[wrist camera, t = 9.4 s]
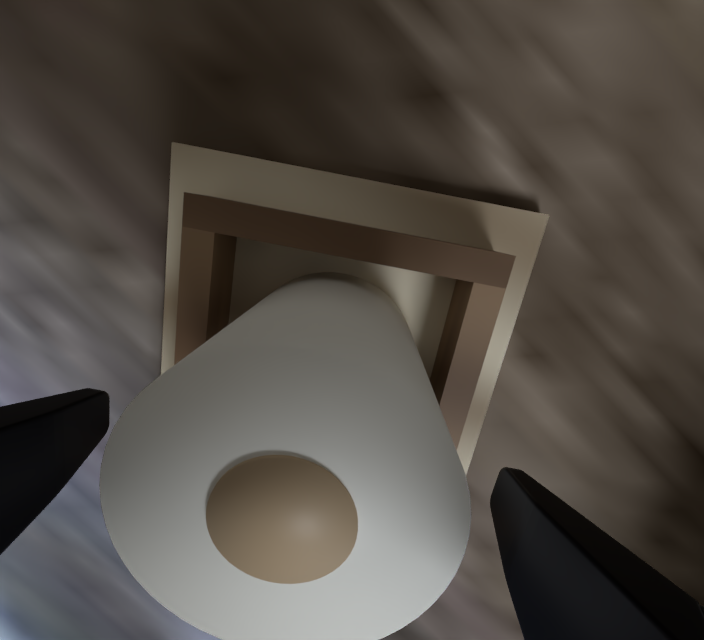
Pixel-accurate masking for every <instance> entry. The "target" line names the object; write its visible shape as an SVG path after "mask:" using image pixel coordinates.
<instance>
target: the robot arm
mask: <svg viewBox="0 0 704 640" xmlns="http://www.w3.org/2000/svg"><path fill="white" fill-rule="evenodd" d="M108 427H109V395H108V393H107V392H105V391H101V390H96V389H91V388H86V389H81V390H76V391H72V392H67V393H62V394H58V395H53V396H49V397H44V398H39V399H35V400H30V401H25V402H21V403H16V404H11V405H7V406H2V407H0V555H1V554H2V553H3V552H4V551H5V550H6V549H7V547H8V546H9V545H10V544H11V543H12V542H13V541H14V540H15V539H16V538H17V537H18V536H19V535H20V534H21V533H22V532H23V531H24V530H25V529H26V527H27V526H28V525H29V524H30V523H31V522H32V521H33V520H34V519H35V518H36V517H37V516H38V515H39V514H40V513H41V512H42V511H43V510H44V509H45V507H46V506H47V505H48V504H49V503H50V502H51V501H52V500H53V499H54V498H55V497H56V495H57V494H58V493H59V492H60V491H61V490H62V488H63V487H64V486H65V485H66V484H67V482H68V481H69V480H70V479H71V477H72V476H73V475H74V473H75V472H76V471H77V470H78V468H79V467H80V466H81V465H82V463H83V462H84V461H85V460H86V458H87V457H88V456H89V455H90V453H91V452H92V451H93V450H94V448H95V447H96V446H97V445H98V443H99V442H100V441H101V439H102V438H103V437H104V436H105V434H106V432H107V430H108ZM490 507H491V512H492V517H493V522H494V527H495V532H496V536H497V541H498V546H499V551H500V555H501V560H502V565H503V569H504V573H505V578H506V581H507V585H508V588H509V592H510V595H511V598H512V601H513V604H514V608H515V611H516V614H517V617H518V620H519V624H520V627H521V630H522V633H523V636H524V640H704V606H700V605H699V603H698V602H697V601H696V600H695V599H694V598H692V597H691V596H690V595H688V594H687V593H686V592H684V591H683V590H682V589H680V588H679V587H678V586H676V585H675V584H674V583H672V582H671V581H670V580H668V579H667V578H666V577H664V576H663V575H662V574H660V573H659V572H658V571H656V570H655V569H654V568H652V567H651V566H649V565H648V564H647V563H645V562H644V561H643V560H641V559H640V558H639V557H637V556H636V555H635V554H633V553H632V552H631V551H629V550H628V549H627V548H625V547H624V546H623V545H621V544H620V543H619V542H617V541H616V540H615V539H613V538H612V537H611V536H609V535H608V534H607V533H605V532H604V531H603V530H601V529H600V528H599V527H597V526H596V525H595V524H593V523H592V522H591V521H589V520H588V519H587V518H585V517H584V516H583V515H581V514H580V513H578V512H577V511H576V510H574V509H573V508H572V507H570V506H569V505H568V504H566V503H565V502H564V501H562V500H561V499H560V498H558V497H557V496H556V495H554V494H553V493H552V492H550V491H549V490H548V489H546V488H545V487H544V486H542V485H541V484H540V483H538V482H537V481H536V480H534V479H533V478H532V477H530V476H529V475H528V474H526V473H525V472H524V471H522V470H519V469H513V468H508V467H504V468H502V469H501V470H500V472H499V475H498V478H497V480H496V483H495V486H494V489H493V492H492V495H491V499H490Z"/></svg>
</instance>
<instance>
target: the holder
mask: <svg viewBox="0 0 704 640" xmlns="http://www.w3.org/2000/svg"><path fill="white" fill-rule="evenodd" d="M548 218H549V215H547V214H542V213H537V212H532V211H526V210H521V209H516V208H511V207H506V206H501V205H495V204H490V203H485V202H480V201H475V200H470V199H465V198H459V197H454V196H449V195H444V194H439V193H434V192H428V191H423V190H418V189H413V188H408V187H403V186H397V185H392V184H387V183H382V182H377V181H372V180H366V179H361V178H356V177H351V176H346V175H341V174H336V173H330V172H325V171H320V170H315V169H310V168H305V167H299V166H294V165H289V164H284V163H279V162H274V161H268V160H263V159H258V158H253V157H248V156H243V155H238V154H232V153H227V152H222V151H217V150H212V149H207V148H201V147H196V146H191V145H186V144H181V143H176V142H172V146H171V168H170V190H169V211H168V233H167V255H166V276H165V298H164V320H163V341H162V363H161V375H162V374H163V373H165V372H166V371H167V370H169V369H170V368H171V367H173V366H174V365H175V364H177V363H178V362H179V361H181V360H182V359H183V358H185V357H186V356H187V355H189V354H190V353H191V352H193V351H194V350H195V349H197V348H198V347H199V346H201V345H202V344H204V343H205V342H206V341H208V340H209V339H210V338H212V337H213V336H214V335H216V334H217V333H218V332H220V331H221V330H222V329H224V328H225V327H226V326H228V325H229V324H230V323H232V322H233V321H234V320H236V319H237V318H239V317H240V316H241V315H243V314H244V313H245V312H247V311H248V310H249V309H251V308H252V307H253V306H255V305H256V304H257V303H259V302H260V301H261V300H263V299H264V298H265V297H267V296H268V295H269V294H271V293H272V292H273V291H275V290H276V289H278V288H279V287H280V286H282V285H284V284H285V283H287V282H289V281H291V280H293V279H295V278H298V277H300V276H304V275H307V274H312V273H319V272H337V273H345V274H349V275H352V276H356V277H359V278H361V279H364V280H366V281H368V282H370V283H371V284H373V285H375V286H377V287H378V288H379V289H381V290H382V291H383V292H385V293H386V294H387V295H388V296H389V297H390V298H391V299H392V300H393V301H394V302H395V304H396V305H397V306H398V308H399V309H400V310H401V312H402V314H403V315H404V317H405V319H406V321H407V324H408V326H409V329H410V331H411V334H412V336H413V339H414V342H415V344H416V347H417V349H418V352H419V355H420V357H421V360H422V362H423V365H424V368H425V370H426V373H427V375H428V378H429V381H430V383H431V386H432V388H433V391H434V394H435V396H436V399H437V401H438V404H439V407H440V409H441V412H442V414H443V417H444V419H445V422H446V425H447V427H448V430H449V432H450V435H451V438H452V440H453V443H454V445H455V448H456V451H457V453H458V456H459V458H460V461H461V464H462V466H463V469H464V471H465V475H466V474H467V471H468V468H469V465H470V462H471V459H472V455H473V452H474V449H475V446H476V443H477V440H478V437H479V434H480V430H481V427H482V424H483V421H484V418H485V415H486V412H487V409H488V405H489V402H490V399H491V396H492V393H493V390H494V387H495V384H496V381H497V377H498V374H499V371H500V368H501V365H502V362H503V359H504V356H505V352H506V349H507V346H508V343H509V340H510V337H511V334H512V331H513V328H514V324H515V321H516V318H517V315H518V312H519V309H520V306H521V303H522V299H523V296H524V293H525V290H526V287H527V284H528V281H529V278H530V275H531V271H532V268H533V265H534V262H535V259H536V256H537V253H538V250H539V246H540V243H541V240H542V237H543V234H544V231H545V228H546V225H547V221H548Z"/></svg>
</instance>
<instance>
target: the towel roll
mask: <svg viewBox="0 0 704 640" xmlns="http://www.w3.org/2000/svg"><path fill="white" fill-rule="evenodd" d="M99 486H100V499H101V508H102V512H103V516H104V520H105V525H106V527H107V530H108V533H109V535H110V538H111V540H112V543H113V545H114V547H115V549H116V551H117V552H118V554H119V556H120V558H121V560H122V561H123V563H124V564H125V566H126V567H127V568H128V570H129V571H130V573H131V574H132V575H133V577H134V578H135V579H136V580H137V581H138V583H139V584H140V585H141V586H142V587H143V588H144V589H145V590H146V591H147V592H148V593H149V594H150V595H151V596H152V597H153V598H154V599H155V600H157V601H158V602H159V603H160V604H161V605H162V606H163V607H165V608H166V609H167V610H169V611H170V612H172V613H173V614H174V615H176V616H177V617H179V618H180V619H182V620H183V621H185V622H187V623H189V624H190V625H192V626H194V627H196V628H197V629H199V630H201V631H203V632H206V633H208V634H210V635H212V636H215V637H217V638H219V639H222V640H379V639H381V638H384V637H386V636H388V635H390V634H392V633H394V632H396V631H397V630H399V629H401V628H403V627H404V626H406V625H407V624H409V623H410V622H412V621H413V620H415V619H416V618H418V617H419V616H420V615H421V614H422V613H424V612H425V611H426V610H427V609H428V608H429V607H430V606H431V605H433V604H434V602H435V601H436V600H437V599H438V598H439V597H440V595H441V594H442V593H443V592H444V591H445V590H446V588H447V587H448V585H449V584H450V582H451V580H452V579H453V577H454V576H455V574H456V572H457V570H458V568H459V566H460V563H461V561H462V559H463V556H464V554H465V550H466V546H467V543H468V539H469V534H470V524H471V502H470V492H469V488H468V483H467V479H466V475H465V471H464V469H463V466H462V464H461V461H460V458H459V456H458V453H457V451H456V448H455V445H454V443H453V440H452V438H451V435H450V432H449V430H448V427H447V425H446V422H445V419H444V417H443V414H442V412H441V409H440V407H439V404H438V401H437V399H436V396H435V394H434V391H433V388H432V386H431V383H430V381H429V378H428V375H427V373H426V370H425V368H424V365H423V362H422V360H421V357H420V355H419V352H418V349H417V347H416V344H415V342H414V339H413V336H412V334H411V331H410V329H409V326H408V324H407V321H406V319H405V317H404V315H403V314H402V312H401V310H400V309H399V308H398V306H397V305H396V304H395V302H394V301H393V300H392V299H391V298H390V297H389V296H388V295H387V294H386V293H385V292H383V291H382V290H381V289H379V288H378V287H377V286H375V285H373V284H371V283H370V282H368V281H366V280H364V279H361V278H359V277H356V276H352V275H349V274H345V273H337V272H319V273H312V274H307V275H304V276H300V277H298V278H295V279H293V280H291V281H289V282H287V283H285V284H284V285H282V286H280V287H279V288H278V289H276V290H275V291H273V292H272V293H271V294H269V295H268V296H267V297H265V298H264V299H263V300H261V301H260V302H259V303H257V304H256V305H255V306H253V307H252V308H251V309H249V310H248V311H247V312H245V313H244V314H243V315H241V316H240V317H239V318H237V319H236V320H234V321H233V322H232V323H230V324H229V325H228V326H226V327H225V328H224V329H222V330H221V331H220V332H218V333H217V334H216V335H214V336H213V337H212V338H210V339H209V340H208V341H206V342H205V343H204V344H202V345H201V346H199V347H198V348H197V349H195V350H194V351H193V352H191V353H190V354H189V355H187V356H186V357H185V358H183V359H182V360H181V361H179V362H178V363H177V364H175V365H174V366H173V367H171V368H170V369H169V370H167V371H166V372H165V373H163V374H162V375H160V376H159V377H158V378H157V379H155V380H154V381H153V382H152V383H151V384H149V385H148V386H147V387H146V388H144V389H143V390H142V391H141V392H140V393H139V394H138V395H137V396H136V397H135V398H134V400H133V401H132V402H131V403H130V404H129V405H128V406H127V407H126V409H125V410H124V412H123V413H122V415H121V416H120V418H119V420H118V421H117V423H116V424H115V426H114V428H113V430H112V432H111V435H110V437H109V439H108V442H107V444H106V447H105V451H104V455H103V459H102V463H101V472H100V485H99Z"/></svg>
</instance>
